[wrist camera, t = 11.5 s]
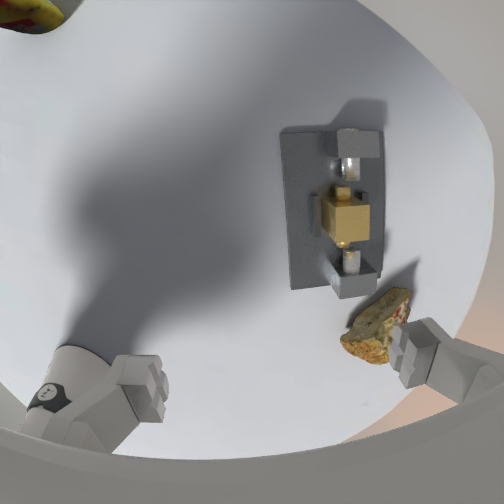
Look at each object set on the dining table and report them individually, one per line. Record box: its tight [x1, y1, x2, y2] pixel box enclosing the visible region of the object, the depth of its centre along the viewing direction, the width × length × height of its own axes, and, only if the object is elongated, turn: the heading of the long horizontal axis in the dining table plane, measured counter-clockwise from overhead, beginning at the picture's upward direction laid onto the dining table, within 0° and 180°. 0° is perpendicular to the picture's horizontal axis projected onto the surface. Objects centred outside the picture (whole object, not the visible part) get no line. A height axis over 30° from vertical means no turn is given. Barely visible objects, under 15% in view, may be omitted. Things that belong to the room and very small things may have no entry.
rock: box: [340, 287, 412, 365], centre depth 41 cm, size 12×9×10 cm
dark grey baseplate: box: [280, 128, 384, 299], centre depth 35 cm, size 21×13×5 cm, turn 6°
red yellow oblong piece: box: [0, 0, 64, 34], centre depth 15 cm, size 12×6×20 cm, turn 57°
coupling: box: [322, 185, 370, 248], centre depth 34 cm, size 7×4×6 cm, turn 5°
